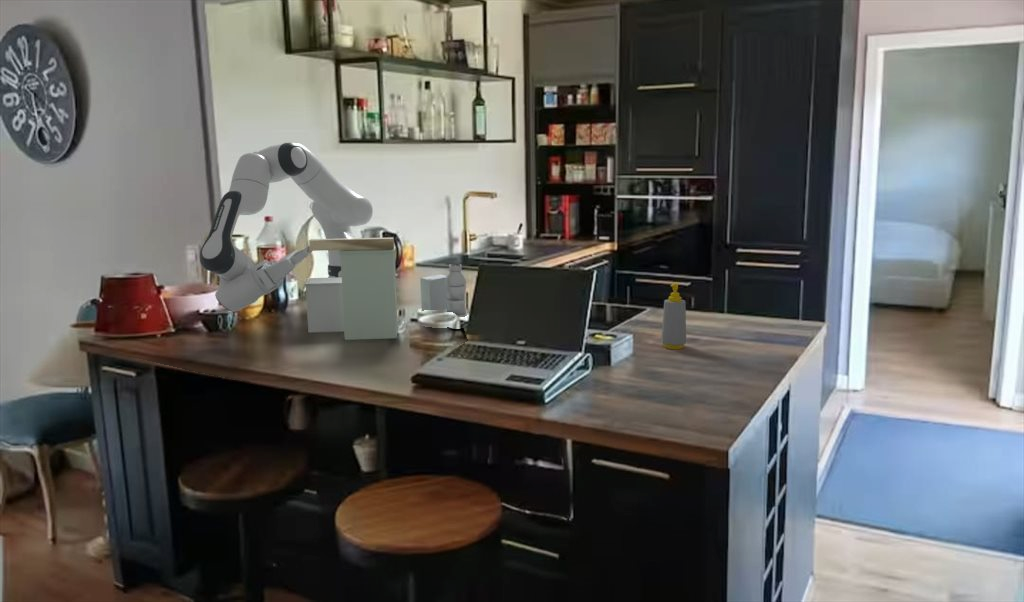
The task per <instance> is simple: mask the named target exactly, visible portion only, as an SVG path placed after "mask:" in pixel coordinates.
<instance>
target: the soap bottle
mask: <svg viewBox="0 0 1024 602" xmlns="http://www.w3.org/2000/svg"><path fill="white" fill-rule="evenodd" d="M679 284H680V282H677V281H675V282H673V283H672V284H670V287H671V288H672V291H673V292H670V295H669V296H668V299H664V300H663V314H662V324H661V326H662V327H661V336H660V337H661V339H660V340H661V341H660V342H661V343H662V346H663V348H665V349H670V350H680V349H683V348H684V347H685V344H687V318H686V317H687V316H686V314H687V312H686V311H687V310H686V309H687V308H686V306H687V305H686V300H684V299H682V297H681V296H680V292H678V289H679Z"/></svg>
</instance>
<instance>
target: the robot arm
mask: <svg viewBox="0 0 1024 602" xmlns="http://www.w3.org/2000/svg"><path fill="white" fill-rule="evenodd" d="M290 178H291V179H292V181H294V183H295V184H296V185H297V186H298V187H299V189H301V191H302V192H304V194H305V195H306V196H307V197H308V198H309V199H311V200H312V201H313V202H312V206H311V211H312V216H313V217H314V219H315V220H316V221H317V222H318V223H319V224H320V226H321V228H322V231H323V233H324V236H325V239H346V238H356V237H355V235H354V234H353V232H352V230H351V227H358V226H359V227H360V226H364V225H366V224H368V223H369V222H370V221H371V219H372V217H373V213H374V212H373V205H372V203H371V202H370V200H369V199H368V198H366V197H364V196H362V195H360V194H358V193H357V192H355V191H353V190H352V189H351V188H350V187H348V186H347V185H346V184H345V183H343V182H341V181H340V180H339V179H337V177H335V175H333V174H332V173H331V171H330V170H328V168H327V167H326V166H325V165H324V163H323V162H322V161H321V160H320V159H319V158H318V157H317V156H316V155H315V154H314V153H313V152H312V151H310V150H309V149H308V148H307V147H306V146H304V145H303V144H301V143H298V142H284V143H280V144H276V145H271V146H270V145H269V146H268V147H266V148H263V149H260V150H258V151H254V152H248V153H247V152H246V153H244V154H242V155H241V156H240V157H239V158H238V160H237V163H236V165H235V168H234V171H233V174H232V177H231V182H230V186H229V190H228V191H227V192H226V193H225V194H223V196H222V198H221V199H220V201H219V203H218V207H217V209H216V213H215V215H214V219H213V222H212V224H211V227H210V231H209V233H208V235H207V238H206V239H205V241H204V242H203V244H202V245H201V248H200V250H199V258H198V259H199V262H200V264H201V266H202V267H203V269H205V270H207V271H209V272H210V273H213V274H215V275H216V276H218V277H219V284H218V287H217V288H218V289H217V291H216V292H215V293H214V296H215V299H216V301H217V302H218V303H219V305H221V306H222V307H223V308H224V309H226V310H227V311H229V312H232V313H234V312H238V311H241V310H243V309H245V308H247V307H249V306H251V305H252V304H254V303H255V302H257V301H258V300H259V299H260V298H261V297H264V296H265V295H268V294H270V293H271V292H274V291H275V290H277V289H278V288H280V287H282V286H283V284H284V282H283V280H285V279H286V276H288V275H289V274H290V273H291V272H293V270H295V268H296V267H297V266H298V265H300V263H301V262H303V260H304V259H306V258H307V257H309V255H310V254H311V253H312V252H313V251H310V247H309V245H308V246H306V247H305V248H304V249H301V250H298V249H296V250H294V251H292V252H290V253H289V254H287V255H285V256H284V257H282V258H281V259H279V260H278V261H275V260H273V259H272V260H270V261H269V260H268V259H264V260H261V261H260V262H258V263H257V264H255V263H254V261H253V259H252V258H251V257H250V256H249V255H248V254H247V253H245V252H244V251H242V250H240V249H239V248H238V247H237V246H236V245H235V244H234V242H233V234H234V231H235V228H236V225H237V222H238V220H239V216H251V215H252V216H253V215H255V214H257V213H259V212H261V211H262V210H263V209H264V208H265V206H266V203H267V200H268V195H269V189H270V183H271V184H272V183H277V182H282V181H284V180H286V179H290ZM339 251H340V250H327V255H328V264H327V275H328V277H327V278H336V277H342V275H341V256H340V254H339Z"/></svg>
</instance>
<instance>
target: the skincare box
mask: <svg viewBox="0 0 1024 602" xmlns="http://www.w3.org/2000/svg"><path fill="white" fill-rule="evenodd" d="M447 276H448V275H445V274H441V273H440V274H435V275H430V276H423V277H420V281H419V282H420V301H421V307H420V308H421V312H422V311H424V310H444V309H447V294H446V288H445V279H446V278H447Z"/></svg>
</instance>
